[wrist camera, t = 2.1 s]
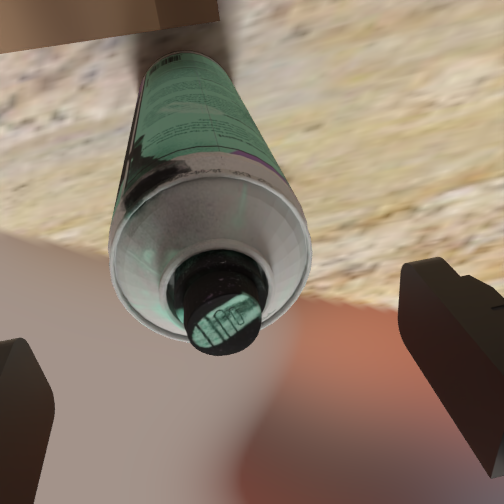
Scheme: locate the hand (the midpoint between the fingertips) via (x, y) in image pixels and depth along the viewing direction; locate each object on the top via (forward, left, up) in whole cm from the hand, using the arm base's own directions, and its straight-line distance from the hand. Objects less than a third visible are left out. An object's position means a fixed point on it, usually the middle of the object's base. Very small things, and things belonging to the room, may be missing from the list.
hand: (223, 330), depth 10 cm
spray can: (0, 0, -20) cm, 20 cm away
